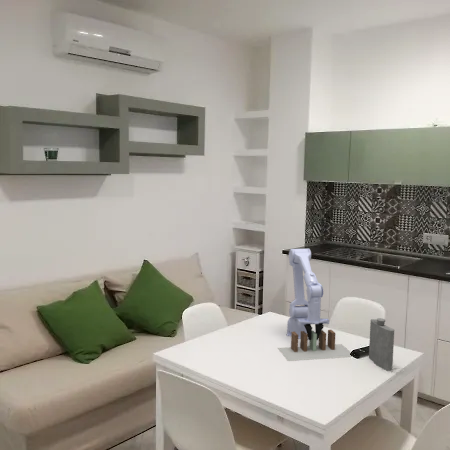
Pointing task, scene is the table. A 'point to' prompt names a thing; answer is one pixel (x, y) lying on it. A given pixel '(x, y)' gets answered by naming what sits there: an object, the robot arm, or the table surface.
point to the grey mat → (315, 353)
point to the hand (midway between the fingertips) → (313, 339)
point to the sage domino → (313, 341)
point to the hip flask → (381, 344)
